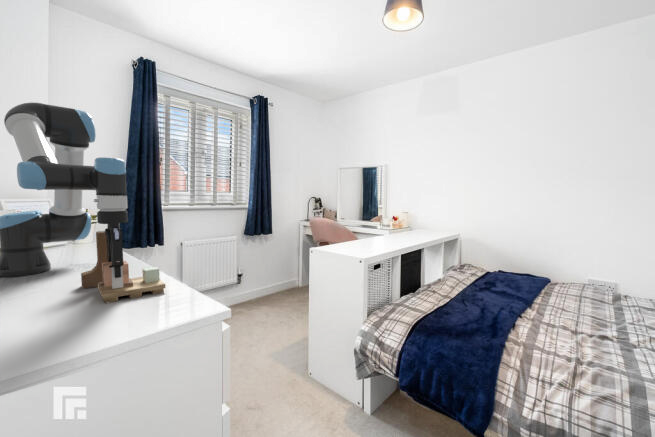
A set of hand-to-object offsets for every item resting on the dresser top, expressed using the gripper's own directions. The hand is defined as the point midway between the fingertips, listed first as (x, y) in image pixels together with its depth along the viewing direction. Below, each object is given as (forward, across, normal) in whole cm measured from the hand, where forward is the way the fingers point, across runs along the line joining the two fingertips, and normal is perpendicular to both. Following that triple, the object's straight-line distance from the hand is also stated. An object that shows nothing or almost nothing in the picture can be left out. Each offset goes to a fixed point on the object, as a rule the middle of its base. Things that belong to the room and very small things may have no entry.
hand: (116, 285), depth 93 cm
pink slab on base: (0, 0, 0) cm, 0 cm away
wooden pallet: (+3, 0, +4) cm, 5 cm away
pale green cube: (0, 0, +10) cm, 10 cm away
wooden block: (+3, -15, -3) cm, 16 cm away
